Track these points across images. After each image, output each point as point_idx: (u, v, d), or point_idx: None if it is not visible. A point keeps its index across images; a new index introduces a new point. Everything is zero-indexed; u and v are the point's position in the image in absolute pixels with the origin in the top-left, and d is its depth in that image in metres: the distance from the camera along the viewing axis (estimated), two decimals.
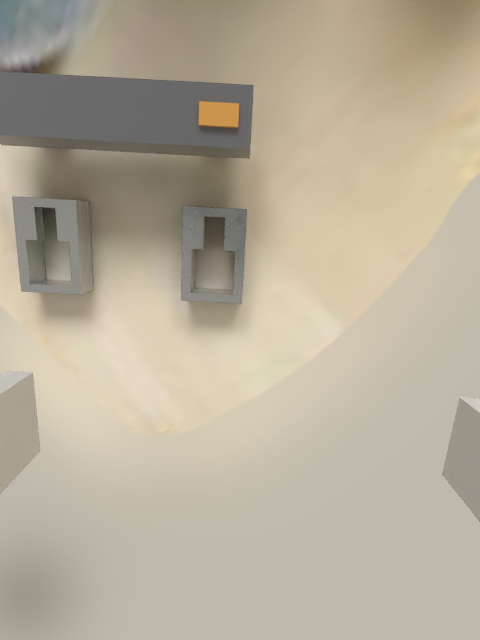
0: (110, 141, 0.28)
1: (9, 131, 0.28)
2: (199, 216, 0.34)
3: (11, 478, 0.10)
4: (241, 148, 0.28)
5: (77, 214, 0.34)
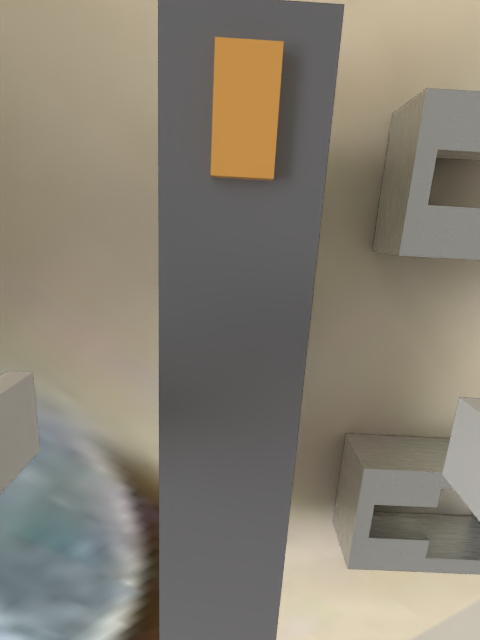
0: None
1: (271, 610, 0.13)
2: (427, 215, 0.14)
3: (11, 478, 0.10)
4: (338, 40, 0.09)
5: (388, 467, 0.17)
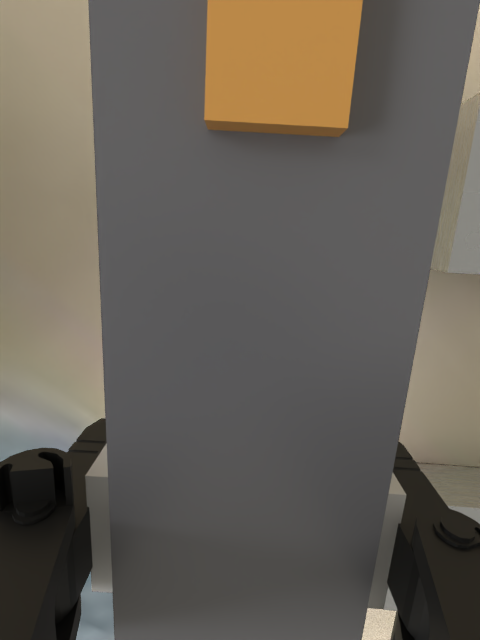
0: None
1: None
2: None
3: None
4: None
5: None
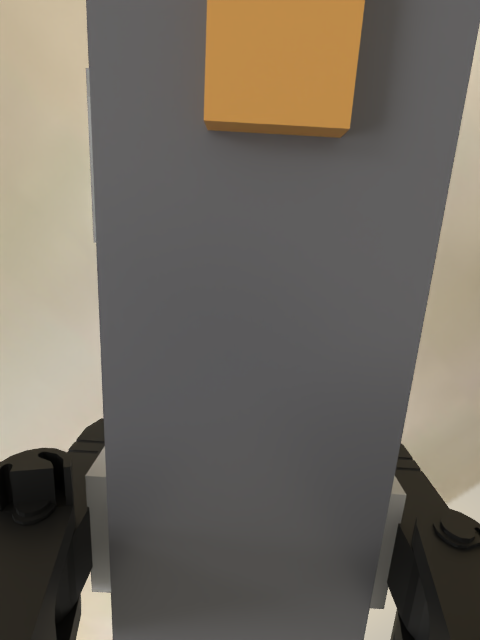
0: None
1: None
2: None
3: None
4: None
5: None
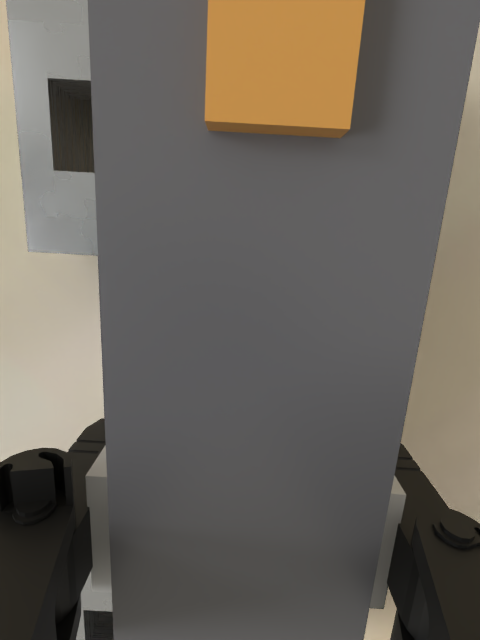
0: None
1: None
2: (57, 187, 0.09)
3: None
4: None
5: None
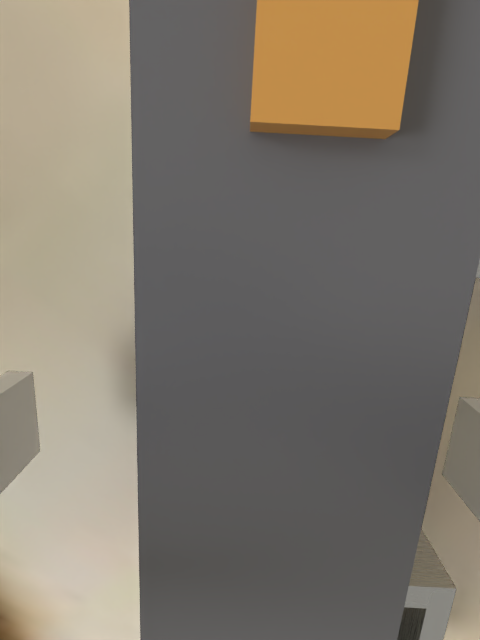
0: None
1: None
2: None
3: (11, 478, 0.10)
4: None
5: None
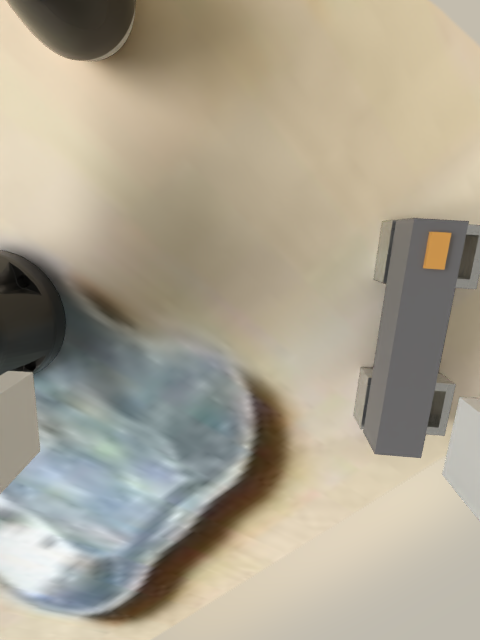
0: None
1: (423, 427, 0.34)
2: None
3: (11, 478, 0.10)
4: None
5: None
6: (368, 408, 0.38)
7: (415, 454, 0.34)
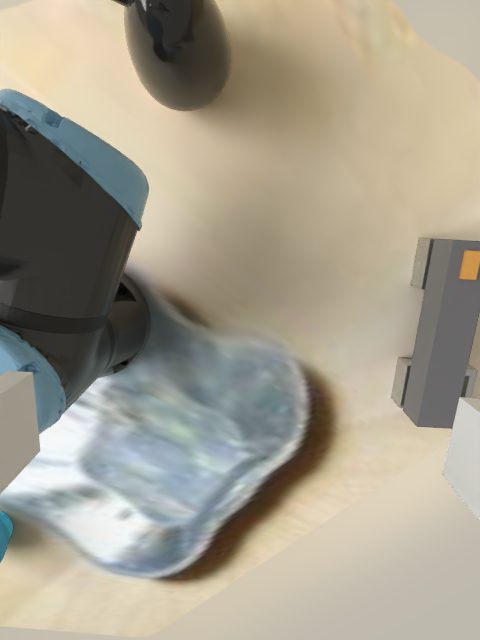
0: None
1: (456, 404, 0.42)
2: None
3: (11, 478, 0.10)
4: None
5: None
6: (407, 391, 0.46)
7: (449, 425, 0.43)
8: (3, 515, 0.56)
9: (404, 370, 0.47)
